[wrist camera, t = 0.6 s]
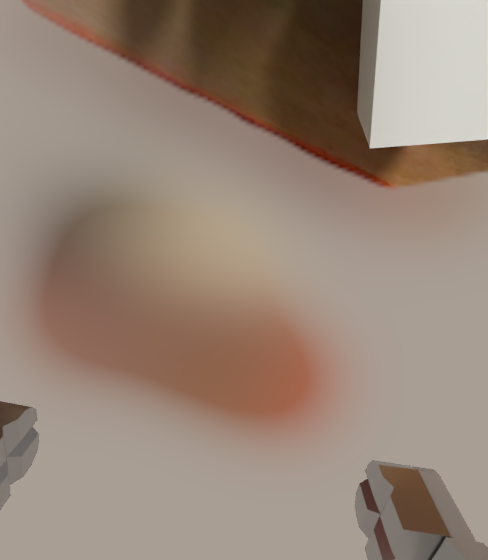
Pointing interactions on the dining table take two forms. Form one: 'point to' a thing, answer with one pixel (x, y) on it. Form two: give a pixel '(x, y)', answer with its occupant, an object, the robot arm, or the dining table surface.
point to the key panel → (423, 72)
